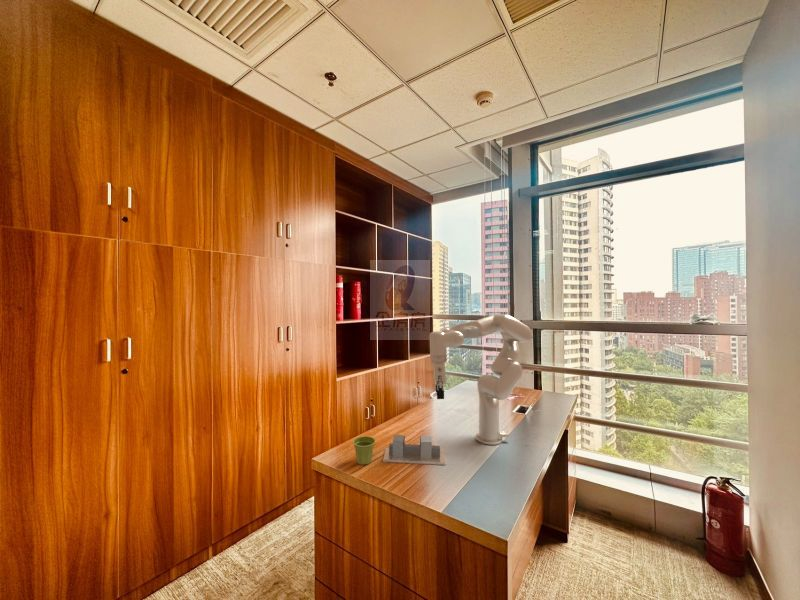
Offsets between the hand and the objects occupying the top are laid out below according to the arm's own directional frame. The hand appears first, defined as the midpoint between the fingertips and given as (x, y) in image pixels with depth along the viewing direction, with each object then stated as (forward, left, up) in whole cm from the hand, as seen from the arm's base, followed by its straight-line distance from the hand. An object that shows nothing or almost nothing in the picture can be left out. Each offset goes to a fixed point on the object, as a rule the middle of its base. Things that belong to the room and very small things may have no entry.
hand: (439, 395), depth 145 cm
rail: (+11, +9, -24) cm, 28 cm away
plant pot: (+32, +15, -25) cm, 43 cm away
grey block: (+6, +9, -23) cm, 26 cm away
